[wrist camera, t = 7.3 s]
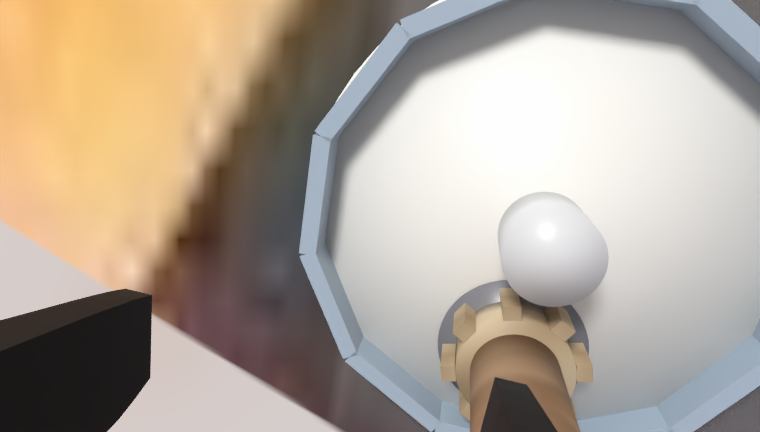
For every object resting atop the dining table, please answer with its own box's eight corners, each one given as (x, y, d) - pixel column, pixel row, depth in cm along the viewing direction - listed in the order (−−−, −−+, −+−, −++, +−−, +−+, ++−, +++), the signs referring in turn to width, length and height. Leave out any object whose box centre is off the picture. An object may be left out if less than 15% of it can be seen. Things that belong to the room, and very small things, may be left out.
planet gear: (613, 350, 17) (683, 482, 12) (514, 431, 19) (534, 583, 13) (507, 260, 17) (525, 352, 12) (416, 351, 19) (392, 470, 13)
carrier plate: (930, 208, 16) (1055, 245, 12) (542, 493, 21) (556, 572, 18) (532, -154, 15) (550, -219, 11) (235, 239, 20) (189, 271, 17)
